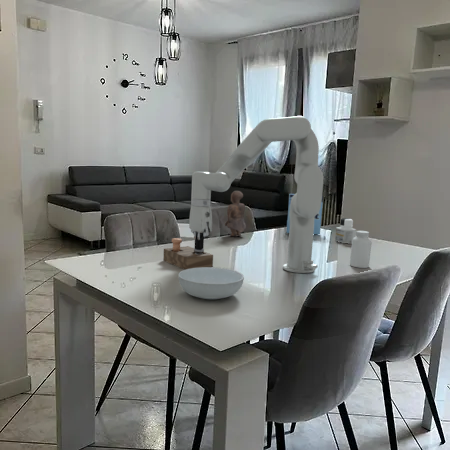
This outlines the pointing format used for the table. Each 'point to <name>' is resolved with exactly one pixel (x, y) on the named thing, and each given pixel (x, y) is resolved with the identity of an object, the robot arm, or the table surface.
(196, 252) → the plug
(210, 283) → the serving bowl
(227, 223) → the clay figurine
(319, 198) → the robot arm
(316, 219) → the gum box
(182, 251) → the block
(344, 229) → the container
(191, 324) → the table surface
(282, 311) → the table surface
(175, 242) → the rust plug
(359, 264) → the pill bottle
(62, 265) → the table surface
